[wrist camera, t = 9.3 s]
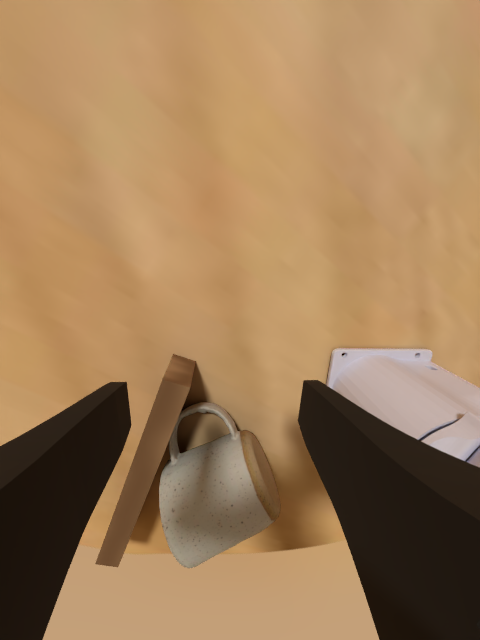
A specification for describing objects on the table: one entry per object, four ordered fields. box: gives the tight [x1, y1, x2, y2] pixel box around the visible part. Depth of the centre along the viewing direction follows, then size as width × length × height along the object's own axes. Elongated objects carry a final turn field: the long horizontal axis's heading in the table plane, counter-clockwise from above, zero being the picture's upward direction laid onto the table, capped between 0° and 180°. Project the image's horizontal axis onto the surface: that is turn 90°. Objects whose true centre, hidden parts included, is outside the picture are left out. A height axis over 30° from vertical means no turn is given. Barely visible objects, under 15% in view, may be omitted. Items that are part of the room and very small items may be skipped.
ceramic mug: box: [159, 402, 281, 568], centre depth 20 cm, size 11×8×8 cm
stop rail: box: [96, 354, 196, 567], centre depth 21 cm, size 2×20×4 cm, turn 158°
